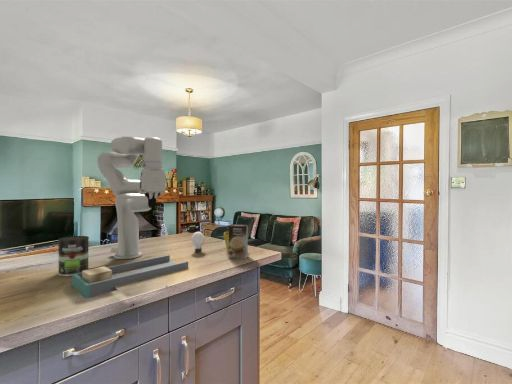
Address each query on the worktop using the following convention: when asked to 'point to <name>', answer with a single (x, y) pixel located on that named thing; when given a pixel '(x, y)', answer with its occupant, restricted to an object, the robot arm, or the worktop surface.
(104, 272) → the maple block
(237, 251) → the coffee box
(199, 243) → the light bulb
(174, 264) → the box
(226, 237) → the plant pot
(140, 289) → the worktop surface
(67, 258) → the coffee can
